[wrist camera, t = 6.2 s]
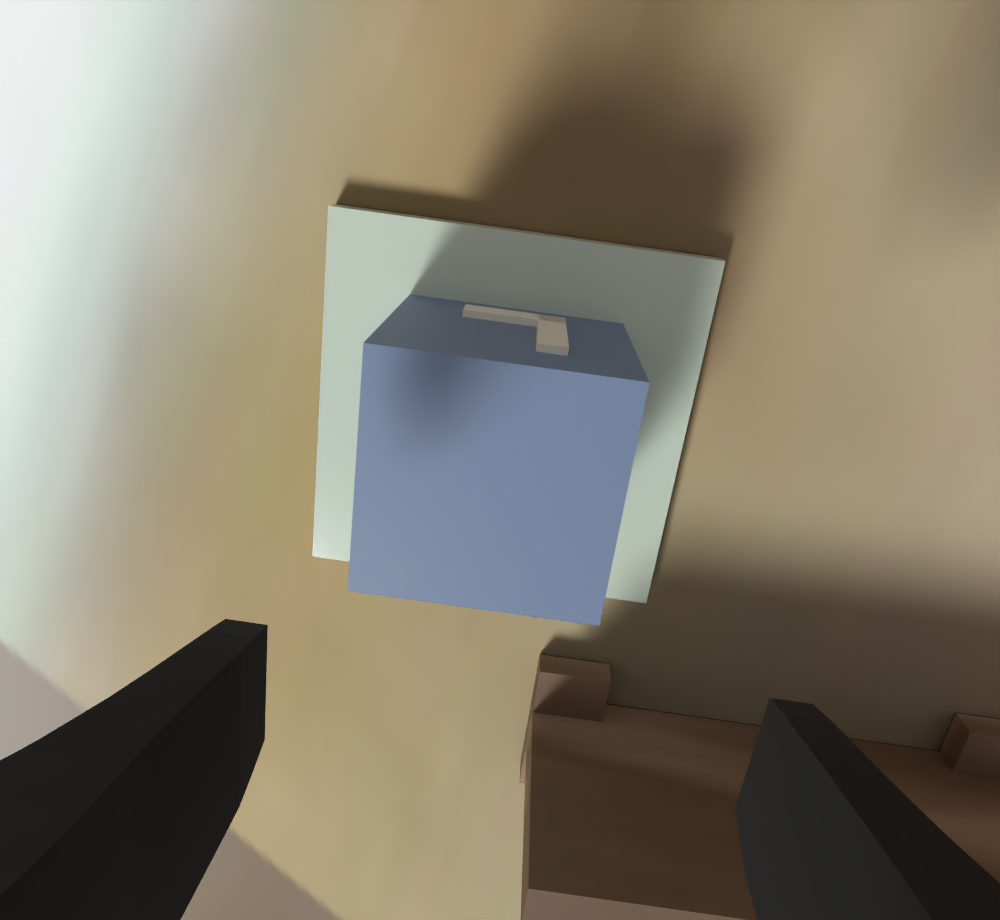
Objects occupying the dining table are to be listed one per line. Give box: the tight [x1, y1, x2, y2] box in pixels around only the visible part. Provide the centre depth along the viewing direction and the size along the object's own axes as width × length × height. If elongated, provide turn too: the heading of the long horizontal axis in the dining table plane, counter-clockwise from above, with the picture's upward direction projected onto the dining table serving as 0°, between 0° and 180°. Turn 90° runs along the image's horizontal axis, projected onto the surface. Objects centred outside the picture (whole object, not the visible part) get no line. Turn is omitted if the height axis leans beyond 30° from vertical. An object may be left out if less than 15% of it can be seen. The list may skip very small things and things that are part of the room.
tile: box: [313, 204, 725, 603], centre depth 19 cm, size 9×9×1 cm
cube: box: [348, 294, 650, 626], centre depth 17 cm, size 5×5×5 cm
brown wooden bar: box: [520, 654, 1000, 920], centre depth 20 cm, size 4×14×6 cm, turn 83°
